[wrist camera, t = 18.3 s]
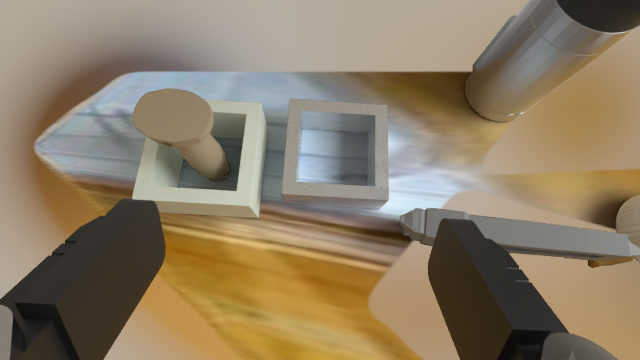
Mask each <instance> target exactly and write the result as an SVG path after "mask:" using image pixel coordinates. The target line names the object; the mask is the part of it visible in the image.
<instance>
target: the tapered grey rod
mask: <svg viewBox="0 0 640 360" xmlns="http://www.w3.org/2000/svg"><path fill="white" fill-rule="evenodd" d="M444 218H449V219H466V220H472V221H474V223H475V224H476V225H477V227H478V228H479V230H480V231H481V232H482V234H483V235H484V237H485V238H486V239H492V240H493V241H494V242H496V243H497V244H498V245H500V246H501V247H502V248H503V249H505V250H506V251H507V252H508V253H519V254H531V255H543V256H556V257H564V258H573V259H584V260H588V266H590V267H592V268H594V267H598V266H604V265H614V264H619V263H624V262H628V261H632V260H633V258H634V257H633V256H637V255H640V248H639V247H637V246H636V245H634V244H632V243H630V241H629V239H628V235H627V234H620V233H613V232H605V231H599V230H591V229H584V228H577V227H569V226H561V225H554V224H546V223H539V222H531V221H523V220H513V219H505V218H494V217H486V216H475V215H468V214H467V213H465V212H460V211H453V210H445V209H437V208H427V209H426V210H423V209H418V208H416V209H414V210H412V211H410V212H408V213H406V214H404V215H401V216H400V225H401V226H402V227H403V234H404V236H409V237H410V239H411V240H415V241H420V243H421V244H424V245H428V246H433V244H434V240H435V237H436V233H437V230H438V227H439V224H440V221H441V220H442V219H444Z"/></svg>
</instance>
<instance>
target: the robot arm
mask: <svg viewBox="0 0 640 360" xmlns="http://www.w3.org/2000/svg"><path fill="white" fill-rule="evenodd" d="M639 25H640V0H529V2H528V3H527V4H526V5H525V6H524V8H523V9H522V10H521V11H520V13H519V14H518V15H517V16H512V17H510V18H509V19H508V21H507V22H506V23H505V25H504V26H503V27H502V28H501V30H500V31H499V32H498V33H497V35H496V36H495V37H494V39H493V40H492V41H491V43H490V44H489V45H488V46H487V48H486V49H485V50H484V52H483V53H482V54H481V55H480V57H479V58H478V59H477V60H476V62H475V63H474V64H473V71H472V73H471V74H470V75H469V76H468V78H467V80H466V83H465V94H466V97H467V100H468V102H469V104H470V105H471V107H472V108H473V109H474V110H475V111H476V112H477V113H479V114H480V115H481V116H483V117H485V118H487V119H490V120H492V121H498V122H507V121H511V120H514V119H516V118H518V117H519V116H521V115H522V114H523V113H525V112H526V111H527V110H529V109H530V108H531V107H533V106H534V105H535V104H537V103H538V102H539V101H541V100H542V99H543V98H545V97H546V96H547V95H549V94H550V93H551V92H553V91H554V90H555V89H557V88H558V87H559V86H561V85H562V84H563V83H564V82H566V81H567V80H568V79H570V78H571V77H572V76H574V75H575V74H576V73H577V72H579V71H580V70H581V69H583V68H584V67H586V66H587V65H588V64H589V63H591V62H592V61H594V60H595V59H596V58H597V57H599V56H600V55H601V54H602V53H604V52H605V51H606V50H608V49H609V48H610V47H612V46H613V45H614V44H616V43H617V42H618V41H620V40H621V39H622V38H624V37H625V36H626V35H628V34H629V33H630V32H632V31H633V30H634V29H636V28H637V27H638V26H639ZM164 257H165V241H164V236H163V231H162V226H161V221H160V216H159V211H158V207H157V204H156V203H155V202H154V201H151V200H135V199H123V200H121V201H120V202H118V203H117V204H116V205H115V206H114V207H113V208H112V209H111V210H110V211H109V212H108V213H107V214H106V215H105V216H100V217H98V218H96V219H94V220H92V221H91V222H89V223H87V224H85V225H83V226H81V227H80V228H79V229H78V230H76V231H75V232H74V233H73V234H72V235H71V236H70V237H69V238H68V239H66V240H65V244H61V245H60V246H59V247H58V248H57V249H56V250H54V251H53V252H52V255H51V256H48V257H47V258H45V260H43V261H42V262H41V263H40V264H39V265H38V266H37V267H36V268H34V269H33V270H32V271H31V272H30V273H29V274H28V275H27V276H26V277H25V278H23V279H22V280H21V281H20V282H19V283H18V284H17V285H16V286H15V287H13V288H12V289H11V290H10V291H9V292H8V293H7V294H6V295H5V296H4V297H2V298H1V299H0V360H103V359H104V358H105V356H106V355H107V353H108V351H109V349H110V348H111V346H112V345H113V343H114V342H115V340H116V338H117V337H118V335H119V334H120V332H121V330H122V329H123V327H124V326H125V324H126V322H127V321H128V319H129V318H130V316H131V314H132V313H133V311H134V310H135V308H136V306H137V305H138V303H139V301H140V300H141V298H142V297H143V295H144V293H145V292H146V290H147V289H148V287H149V285H150V284H151V282H152V281H153V279H154V277H155V276H156V274H157V273H158V271H159V269H160V268H161V266H162V264H163V261H164ZM428 276H429V280H430V283H431V286H432V289H433V291H434V294H435V296H436V299H437V302H438V304H439V307H440V309H441V312H442V314H443V317H444V319H445V322H446V324H447V327H448V330H449V332H450V335H451V337H452V340H453V342H454V345H455V347H456V350H457V353H458V355H459V357H460V360H617V359H616V358H615V357H614V356H613V355H612V354H610V353H609V352H608V351H606V350H605V349H603V348H602V347H600V346H599V345H597V344H595V343H594V342H592V341H590V340H588V339H585V338H583V337H580V336H578V335H575V334H570V333H569V332H568V331H567V329H566V328H565V327H564V325H563V324H562V323H561V321H560V320H559V319H558V317H557V316H556V315H555V313H554V312H553V311H552V309H551V308H550V307H549V306H548V304H547V303H546V302H545V300H544V299H543V298H542V296H541V295H540V294H539V292H538V291H537V290H536V289H535V287H534V286H533V285H532V283H529V281H528V280H529V279H528V278H527V277H526V275H525V274H524V273H523V271H522V270H519V266H518V265H517V263H516V262H515V261H514V259H513V258H512V257H511V256H510V254H509V253H508V252H507V251H506V250H505V249H503V248H502V247H501V246H500V245H498V244H497V243H496V242H494V241H493V240H492V239H486V238H485V237H484V235H483V234H482V232H481V231H480V230H479V228H478V227H477V225H476V224H475V223H474V221H472V220H466V219H449V218H444V219H442V220H441V221H440V224H439V227H438V230H437V233H436V237H435V240H434V244H433V247H432V251H431V254H430V258H429V262H428Z"/></svg>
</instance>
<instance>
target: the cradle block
mask: <svg viewBox="0 0 640 360" xmlns="http://www.w3.org/2000/svg"><path fill="white" fill-rule="evenodd" d="M203 100H205V101H206V102H208V104H209V105H210V107H211V110H212V112H213V116H214V122H213V127H212V130H211V132H210V134H211V135H212V136H213V137H224V138H240V139H243V146H242V153H241V161H240V169H239V176H238V184H237V191H226V190H209V189H192V188H178V185H179V180H180V175H181V169H182V164H183V158H184V157H183V156H182V155H181V153H180V152H179V151H178V150H177V148H173V147H168V146H165V145H161V144H158V143H156V142H155V141H153V140H151V139H150V138H148V137H147V136H146V138H145V143H144V147H143V152H142V156H141V161H140V165H139V169H138V174H137V178H136V183H135V187H134V191H133V196H132V199H135V200H151V201H154V202H155V203H156V204H157V207H158V211H159V212H161V213H179V214H196V215H214V216H231V217H249V218H259V212H260V202H261V193H262V184H263V174H264V165H265V155H266V146H267V137H268V127H267V123H266V119H265V115H264V112H263V108H262V104H261V103H252V102H237V101H222V100H207V99H203Z"/></svg>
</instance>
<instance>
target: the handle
mask: <svg viewBox="0 0 640 360" xmlns="http://www.w3.org/2000/svg"><path fill="white" fill-rule="evenodd" d="M213 122H214V116H213V112H212V110H211V107H210V105H209V104H208V102H206V101H205V100H203V99H202V98H200V97H199V96H197V95H196V94H194V93H192V92H188V91H184V90H178V89H161V90H157V91H152V92H148V93H146V94H145V95H143V96H142V97H141V98H140V100H139V101H138V102H137V104H136V106H135V109H134V112H133V123H134V126H135V127H136V128H137V129H138V130H139V131H140V132H142V133H143V134H144V135H146V136H147V137H148V138H150V139H151V140H153V141H155V142H156V143H158V144H161V145H165V146H168V147H173V148H177V150H178V151H179V152H180V153H181V155H182V156H183V157H184V158H185V160H186V161H187V162H188V164H189V165H190V166H191V167H192V168H193V169H194V170H196V171H197V172H198V173H199V174H201V175H202V176H204V177H206V178H209V180H211V181H213V182H217V181H218V180H220V179H224V178H225V179H226V178H227V177H228V170H229V169H230V165H229V162H228V160H227V157H226V155H225V153H224V151H223V149H222V147H221V146H220V144H219V143H218V142H217V141H216V140H215V139H214V137H213V136H212V135H211V134H210V132H211V130H212V127H213Z"/></svg>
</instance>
